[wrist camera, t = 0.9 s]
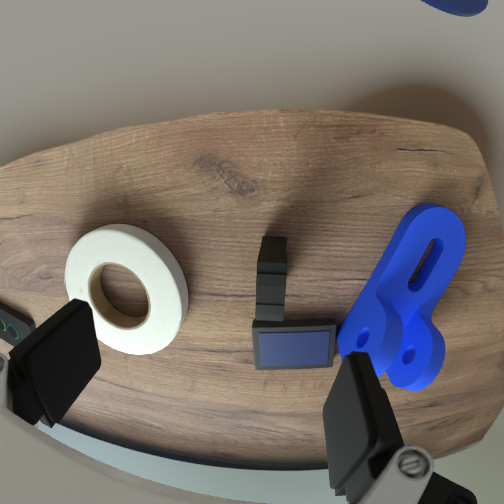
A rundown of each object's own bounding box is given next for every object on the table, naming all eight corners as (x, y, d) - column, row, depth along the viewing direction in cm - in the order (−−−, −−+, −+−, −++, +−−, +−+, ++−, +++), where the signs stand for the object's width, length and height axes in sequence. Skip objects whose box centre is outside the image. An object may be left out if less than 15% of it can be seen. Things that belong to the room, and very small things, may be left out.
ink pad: (334, 318, 30) (337, 325, 29) (330, 360, 32) (332, 368, 31) (252, 320, 31) (251, 328, 30) (256, 362, 33) (254, 370, 31)
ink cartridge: (283, 283, 29) (284, 324, 22) (261, 281, 30) (254, 322, 22) (286, 236, 28) (289, 264, 20) (263, 234, 28) (256, 262, 20)
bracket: (389, 353, 31) (411, 403, 23) (334, 333, 31) (349, 388, 22) (466, 225, 26) (515, 249, 17) (415, 189, 25) (465, 203, 17)
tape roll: (176, 215, 28) (165, 221, 26) (199, 344, 33) (193, 359, 30) (65, 230, 30) (51, 236, 27) (96, 337, 35) (86, 349, 32)
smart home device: (38, 362, 37) (-20, 324, 37) (43, 357, 38) (-15, 320, 39) (28, 324, 34) (-29, 289, 34) (34, 319, 36) (-24, 286, 36)
